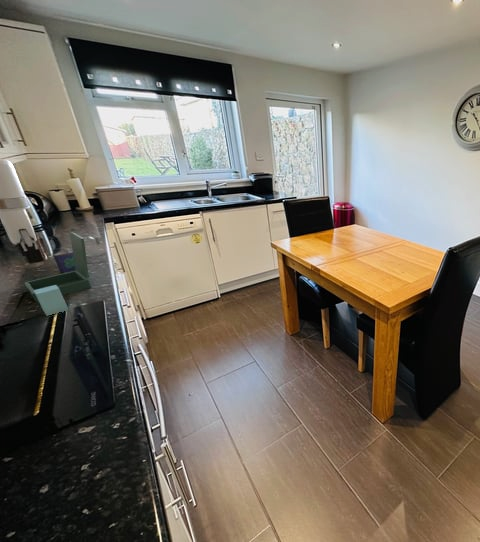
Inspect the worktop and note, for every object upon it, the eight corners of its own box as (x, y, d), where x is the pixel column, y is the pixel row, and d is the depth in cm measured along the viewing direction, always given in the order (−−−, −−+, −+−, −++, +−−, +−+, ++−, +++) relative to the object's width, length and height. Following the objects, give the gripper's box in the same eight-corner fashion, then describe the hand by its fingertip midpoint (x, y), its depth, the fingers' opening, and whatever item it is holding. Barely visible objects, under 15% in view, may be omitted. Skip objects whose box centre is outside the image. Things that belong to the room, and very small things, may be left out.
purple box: (87, 267, 129) (79, 245, 125) (90, 268, 128) (81, 246, 124) (60, 273, 122) (50, 250, 118) (62, 275, 121) (52, 252, 117)
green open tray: (37, 304, 99) (32, 293, 97) (29, 292, 106) (23, 282, 105) (92, 289, 110) (88, 279, 108) (80, 279, 118) (76, 270, 116)
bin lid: (80, 238, 104) (99, 238, 108) (69, 231, 111) (87, 231, 115) (86, 278, 108) (104, 276, 112) (75, 269, 115) (92, 267, 120)
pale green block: (47, 317, 92) (36, 294, 89) (44, 312, 94) (33, 290, 91) (69, 310, 96) (59, 288, 93) (65, 306, 98) (55, 284, 95)
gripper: (-15, 201, 84) (11, 255, 90) (-8, 209, 75) (20, 268, 81) (23, 199, 89) (44, 249, 96) (33, 206, 80) (56, 261, 87)
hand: (33, 258), depth 89 cm, fingers open, 9 cm apart
